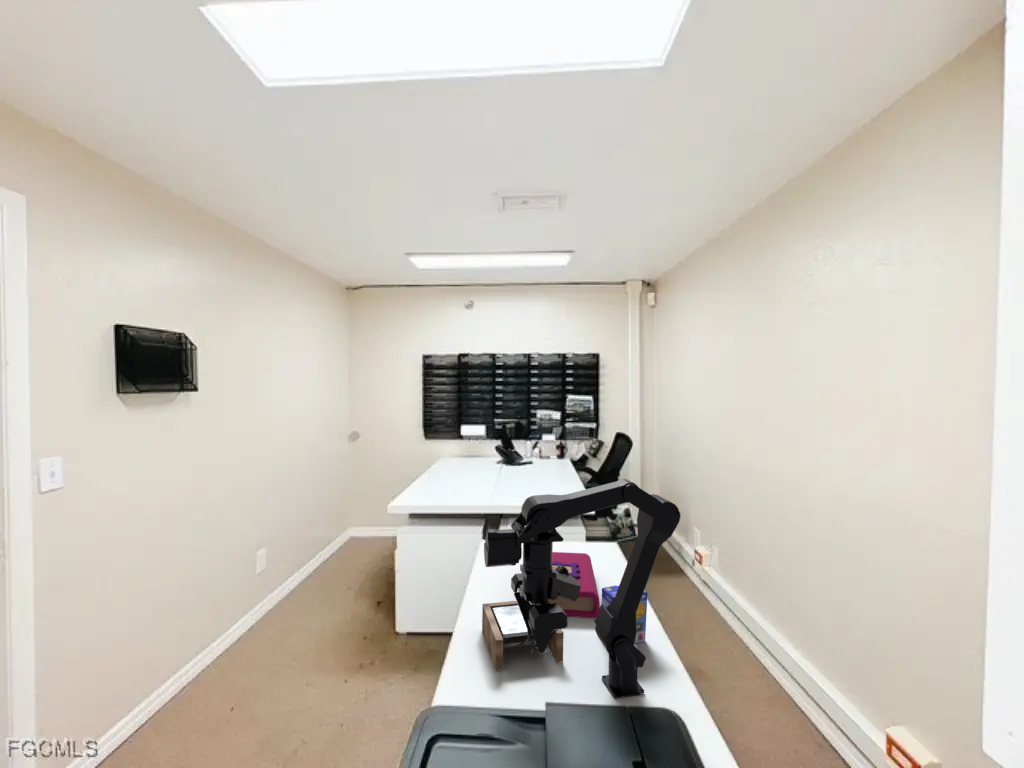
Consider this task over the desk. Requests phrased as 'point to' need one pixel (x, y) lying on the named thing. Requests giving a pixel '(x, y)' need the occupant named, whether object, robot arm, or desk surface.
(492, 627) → the wooden stand
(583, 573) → the book
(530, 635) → the creature
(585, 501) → the robot arm
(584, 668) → the desk surface
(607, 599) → the ink cartridge box
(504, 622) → the trapdoor
